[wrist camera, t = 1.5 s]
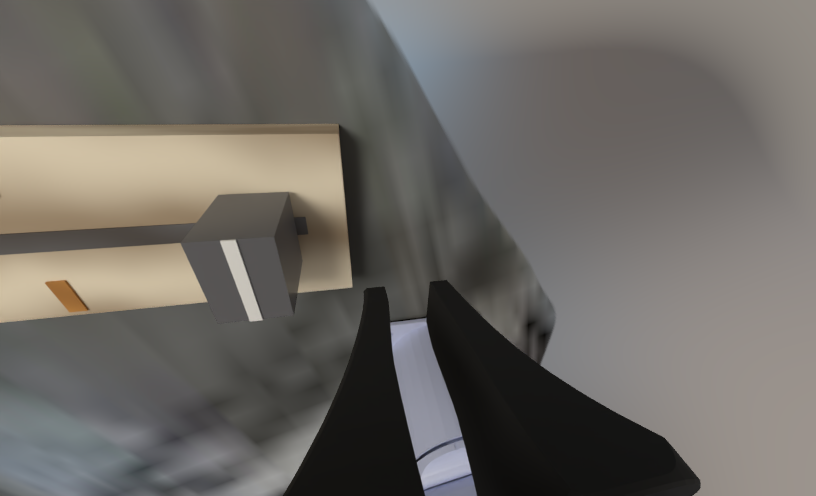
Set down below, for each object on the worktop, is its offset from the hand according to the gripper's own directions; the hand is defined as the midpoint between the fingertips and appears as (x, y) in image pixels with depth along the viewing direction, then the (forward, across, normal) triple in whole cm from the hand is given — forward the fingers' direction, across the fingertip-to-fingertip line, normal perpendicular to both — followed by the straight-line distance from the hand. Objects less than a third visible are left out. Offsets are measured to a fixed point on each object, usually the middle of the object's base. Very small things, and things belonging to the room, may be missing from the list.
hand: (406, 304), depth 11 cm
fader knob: (+6, +6, 0) cm, 9 cm away
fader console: (+8, +12, 0) cm, 15 cm away
